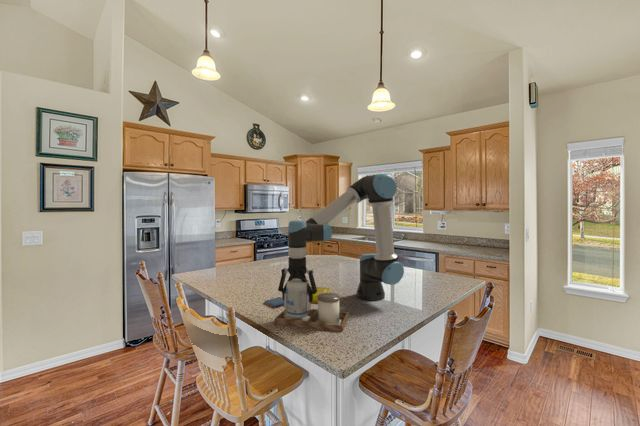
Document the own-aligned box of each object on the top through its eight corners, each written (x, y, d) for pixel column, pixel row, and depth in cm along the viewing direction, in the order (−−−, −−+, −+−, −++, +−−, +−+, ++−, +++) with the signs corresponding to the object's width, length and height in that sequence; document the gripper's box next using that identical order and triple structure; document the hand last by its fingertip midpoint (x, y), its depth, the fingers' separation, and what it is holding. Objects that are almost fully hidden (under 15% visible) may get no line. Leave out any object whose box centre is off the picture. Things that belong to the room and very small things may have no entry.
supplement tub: (281, 315, 129) (281, 281, 128) (297, 309, 136) (297, 276, 135) (297, 320, 122) (297, 285, 122) (313, 314, 130) (313, 280, 129)
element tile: (325, 304, 151) (325, 295, 150) (297, 302, 154) (297, 293, 154) (331, 295, 165) (331, 286, 165) (304, 293, 168) (304, 285, 168)
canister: (341, 319, 129) (341, 293, 128) (337, 328, 120) (337, 300, 119) (320, 316, 131) (320, 292, 131) (314, 325, 122) (314, 298, 122)
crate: (348, 319, 131) (348, 312, 131) (342, 333, 117) (342, 325, 117) (287, 313, 138) (287, 306, 138) (274, 325, 124) (274, 318, 124)
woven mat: (280, 299, 159) (280, 296, 158) (292, 305, 151) (292, 301, 151) (262, 304, 152) (262, 300, 151) (274, 309, 144) (274, 305, 144)
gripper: (324, 256, 129) (324, 307, 130) (276, 254, 135) (277, 303, 136) (320, 259, 122) (320, 314, 122) (269, 257, 128) (270, 309, 128)
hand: (297, 308), depth 129 cm, fingers closed on supplement tub, 9 cm apart
